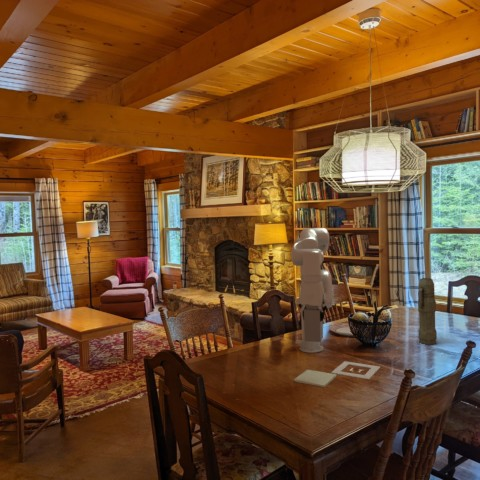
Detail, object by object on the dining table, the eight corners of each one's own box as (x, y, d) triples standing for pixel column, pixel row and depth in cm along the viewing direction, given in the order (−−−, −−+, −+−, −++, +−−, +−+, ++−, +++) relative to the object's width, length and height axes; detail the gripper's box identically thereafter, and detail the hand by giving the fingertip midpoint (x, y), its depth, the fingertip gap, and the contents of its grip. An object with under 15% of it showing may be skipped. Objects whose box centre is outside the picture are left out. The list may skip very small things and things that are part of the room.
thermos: (441, 342, 236) (439, 277, 234) (430, 346, 228) (429, 280, 226) (425, 339, 242) (423, 276, 241) (414, 343, 235) (412, 279, 233)
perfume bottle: (320, 341, 185) (319, 299, 184) (304, 341, 187) (303, 299, 186) (323, 337, 191) (321, 297, 190) (307, 336, 193) (306, 296, 192)
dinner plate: (327, 327, 277) (327, 322, 277) (371, 326, 275) (371, 321, 274) (332, 339, 250) (331, 333, 250) (381, 338, 247) (380, 333, 247)
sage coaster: (293, 381, 188) (293, 379, 188) (307, 371, 199) (307, 369, 199) (324, 387, 180) (324, 385, 180) (336, 376, 192) (336, 374, 192)
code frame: (331, 373, 196) (331, 372, 196) (344, 362, 210) (344, 361, 210) (368, 379, 186) (368, 378, 186) (380, 367, 200) (380, 366, 200)
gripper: (290, 279, 189) (291, 320, 190) (327, 281, 180) (329, 323, 181) (297, 277, 196) (299, 316, 196) (334, 278, 186) (335, 320, 187)
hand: (313, 319), depth 189 cm, fingers closed on perfume bottle, 6 cm apart
